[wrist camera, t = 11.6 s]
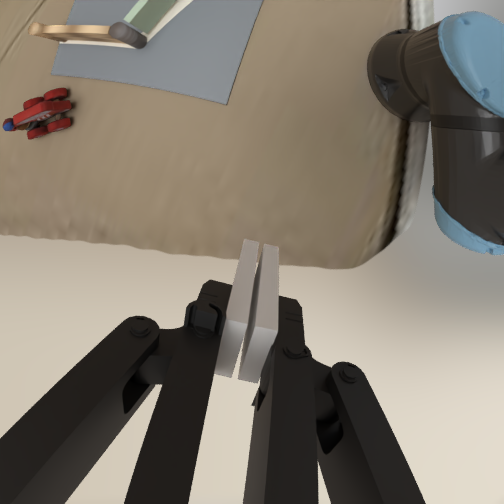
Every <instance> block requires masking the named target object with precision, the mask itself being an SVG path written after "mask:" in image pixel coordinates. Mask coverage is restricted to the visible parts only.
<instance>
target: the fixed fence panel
mask: <svg viewBox="0 0 504 504" xmlns="http://www.w3.org/2000/svg"><path fill="white" fill-rule="evenodd" d="M28 33H29V34H31V35H35V36H40V37H44V38H48V39H52V40H56V41H60V42H67V41H68V40H75V41H97V42H111V43H122V44H128V45H130V46H132V47H134V48H136V49H142V48H144V47H145V46H146V44H147V37H146V36H144V35H143V34H141V33H139V32H138V31H136V30H134V29H133V28H131V27H129V26H128V25H126V24H124V23H123V22H116V23H114V24H113V25H112V26H99V25H53V26H47V25H44V24H40V23H37V22H34V23H32V24H31V25H30V26H29V29H28Z"/></svg>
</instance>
